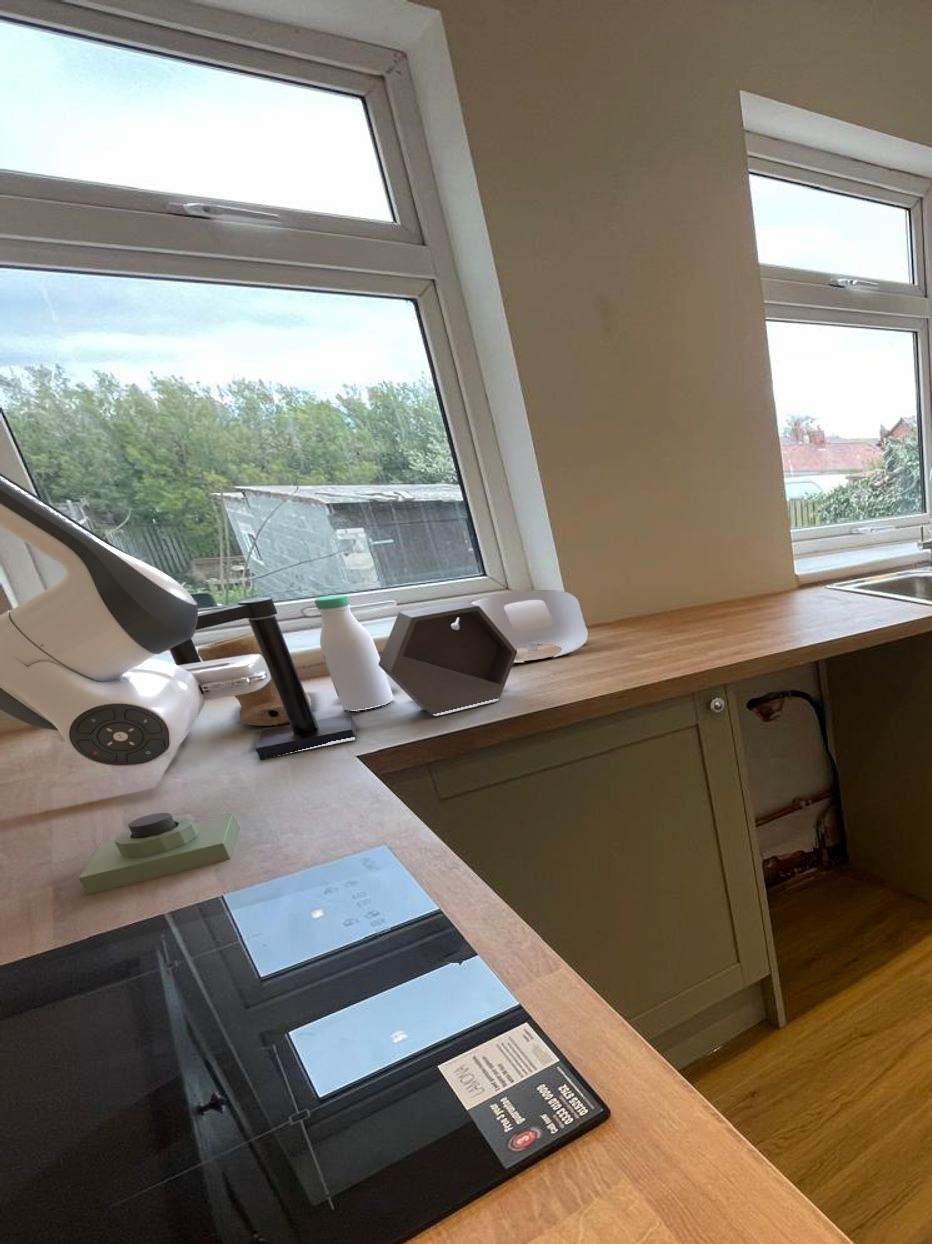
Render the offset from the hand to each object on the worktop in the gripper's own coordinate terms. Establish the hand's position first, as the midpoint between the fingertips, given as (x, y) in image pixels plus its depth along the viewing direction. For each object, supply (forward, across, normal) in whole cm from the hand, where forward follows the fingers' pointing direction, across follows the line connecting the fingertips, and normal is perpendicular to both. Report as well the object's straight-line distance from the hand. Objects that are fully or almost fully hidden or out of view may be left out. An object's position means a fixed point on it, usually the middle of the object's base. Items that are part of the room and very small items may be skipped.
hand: (171, 673), depth 105 cm
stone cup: (+40, -2, +18) cm, 44 cm away
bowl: (+57, -46, +18) cm, 75 cm away
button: (-19, +4, +14) cm, 24 cm away
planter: (+25, -30, +18) cm, 43 cm away
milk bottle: (+36, -16, +18) cm, 44 cm away
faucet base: (+20, -8, +18) cm, 29 cm away
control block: (-18, +4, +18) cm, 26 cm away
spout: (+16, -4, +6) cm, 18 cm away
